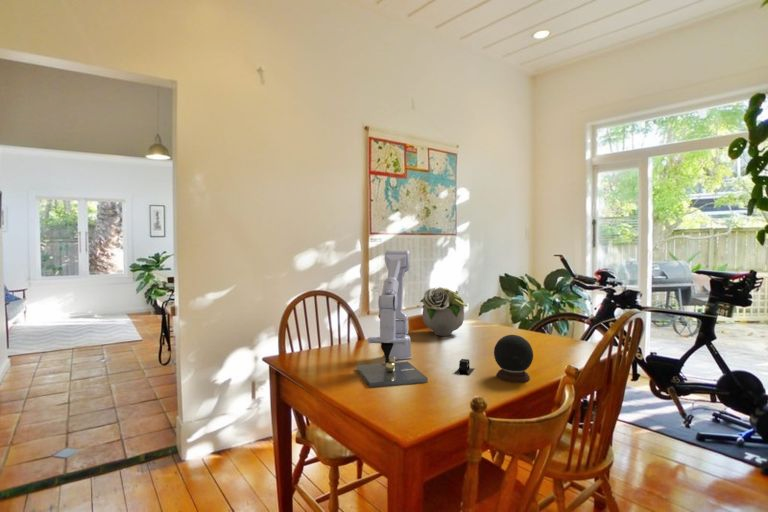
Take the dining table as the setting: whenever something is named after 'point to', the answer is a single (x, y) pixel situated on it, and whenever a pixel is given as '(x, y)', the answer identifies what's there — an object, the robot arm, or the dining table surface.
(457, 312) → the flower arrangement
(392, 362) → the lever
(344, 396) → the dining table surface
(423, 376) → the lock plate
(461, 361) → the black block on base
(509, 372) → the spherical smart speaker
